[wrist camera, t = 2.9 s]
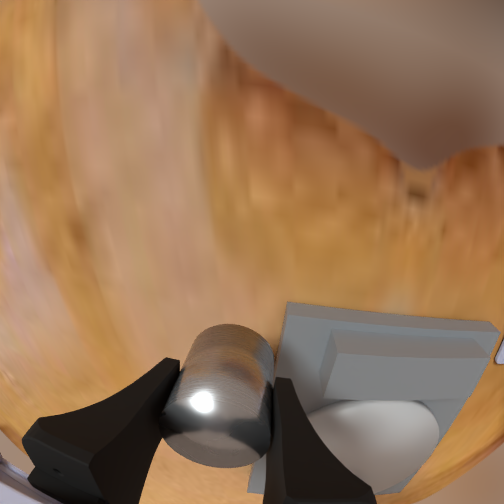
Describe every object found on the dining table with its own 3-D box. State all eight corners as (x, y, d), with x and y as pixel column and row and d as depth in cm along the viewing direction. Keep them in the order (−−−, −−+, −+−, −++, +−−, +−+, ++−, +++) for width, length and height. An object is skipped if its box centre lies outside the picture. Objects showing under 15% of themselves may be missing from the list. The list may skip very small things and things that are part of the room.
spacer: (280, 330, 14) (279, 409, 9) (267, 395, 15) (261, 473, 10) (192, 317, 14) (155, 387, 9) (190, 383, 15) (162, 455, 10)
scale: (489, 321, 17) (518, 350, 13) (396, 480, 23) (404, 510, 19) (287, 301, 18) (288, 338, 14) (248, 479, 23) (244, 513, 20)
